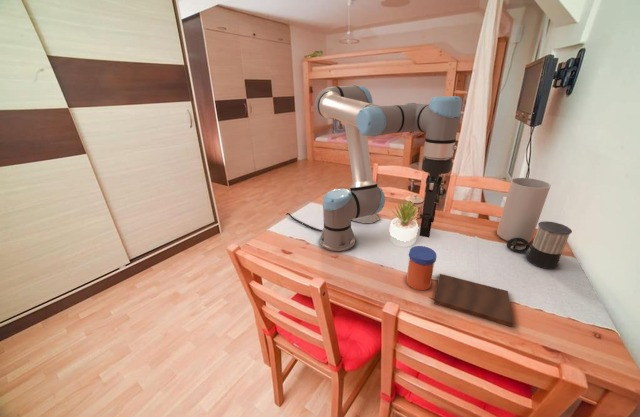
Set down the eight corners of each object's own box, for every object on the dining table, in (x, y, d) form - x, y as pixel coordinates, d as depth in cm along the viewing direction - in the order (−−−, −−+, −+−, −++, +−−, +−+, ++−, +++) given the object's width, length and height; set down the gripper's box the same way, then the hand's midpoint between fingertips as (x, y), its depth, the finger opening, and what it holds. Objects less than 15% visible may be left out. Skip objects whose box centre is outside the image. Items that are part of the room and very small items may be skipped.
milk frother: (559, 272, 92) (575, 236, 86) (505, 259, 100) (516, 225, 94) (553, 252, 103) (566, 219, 97) (505, 242, 111) (515, 210, 105)
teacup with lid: (417, 220, 131) (420, 199, 126) (400, 215, 137) (402, 195, 132) (426, 212, 139) (429, 192, 134) (409, 208, 145) (412, 188, 140)
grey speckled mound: (346, 203, 152) (346, 193, 149) (384, 217, 137) (385, 206, 134) (329, 215, 143) (328, 204, 139) (368, 231, 128) (368, 219, 124)
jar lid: (406, 261, 84) (407, 256, 84) (411, 248, 91) (412, 243, 90) (434, 268, 81) (435, 262, 80) (437, 254, 87) (438, 249, 87)
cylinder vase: (520, 247, 107) (539, 190, 96) (490, 234, 117) (504, 181, 106) (537, 239, 112) (557, 184, 101) (506, 227, 122) (522, 176, 112)
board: (434, 303, 81) (434, 299, 80) (438, 276, 92) (439, 273, 92) (511, 327, 72) (513, 323, 72) (506, 294, 83) (507, 290, 83)
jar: (404, 285, 89) (408, 257, 84) (408, 272, 95) (412, 245, 90) (428, 293, 85) (434, 263, 80) (431, 278, 91) (436, 250, 87)
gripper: (449, 168, 61) (435, 249, 71) (454, 149, 79) (443, 216, 88) (416, 165, 65) (407, 243, 74) (428, 148, 83) (419, 212, 92)
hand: (426, 228), depth 81 cm, fingers open, 10 cm apart
